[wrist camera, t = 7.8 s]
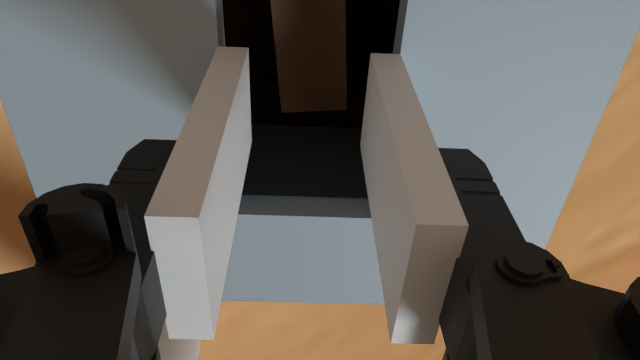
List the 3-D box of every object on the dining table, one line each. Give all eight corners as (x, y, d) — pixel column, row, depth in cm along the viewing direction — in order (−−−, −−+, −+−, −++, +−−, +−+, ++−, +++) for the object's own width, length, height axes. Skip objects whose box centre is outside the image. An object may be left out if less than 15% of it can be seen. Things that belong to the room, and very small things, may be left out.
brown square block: (287, 54, 24) (281, 112, 19) (275, -86, 20) (264, -59, 15) (339, 51, 24) (346, 109, 19) (336, -90, 20) (344, -63, 15)
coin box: (153, 137, 26) (71, 297, 17) (86, -264, 17) (-168, -368, 8) (450, 147, 27) (519, 307, 18) (541, -233, 18) (779, -297, 9)
